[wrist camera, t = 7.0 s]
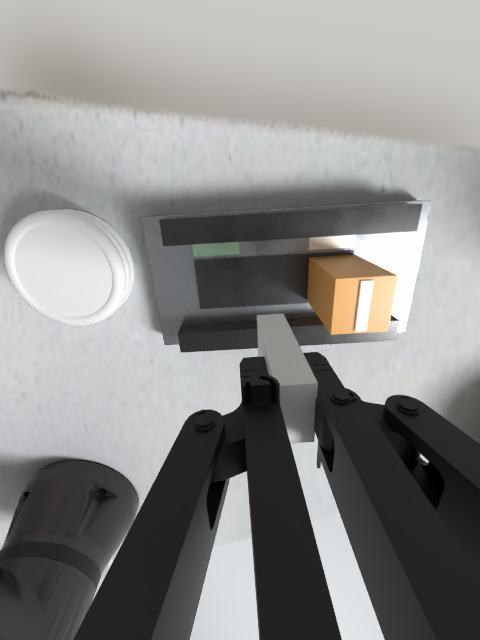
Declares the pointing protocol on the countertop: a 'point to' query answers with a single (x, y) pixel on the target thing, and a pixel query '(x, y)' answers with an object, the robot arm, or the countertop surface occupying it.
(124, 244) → the coaster
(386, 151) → the countertop surface
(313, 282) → the lever
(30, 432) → the countertop surface
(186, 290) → the panel
